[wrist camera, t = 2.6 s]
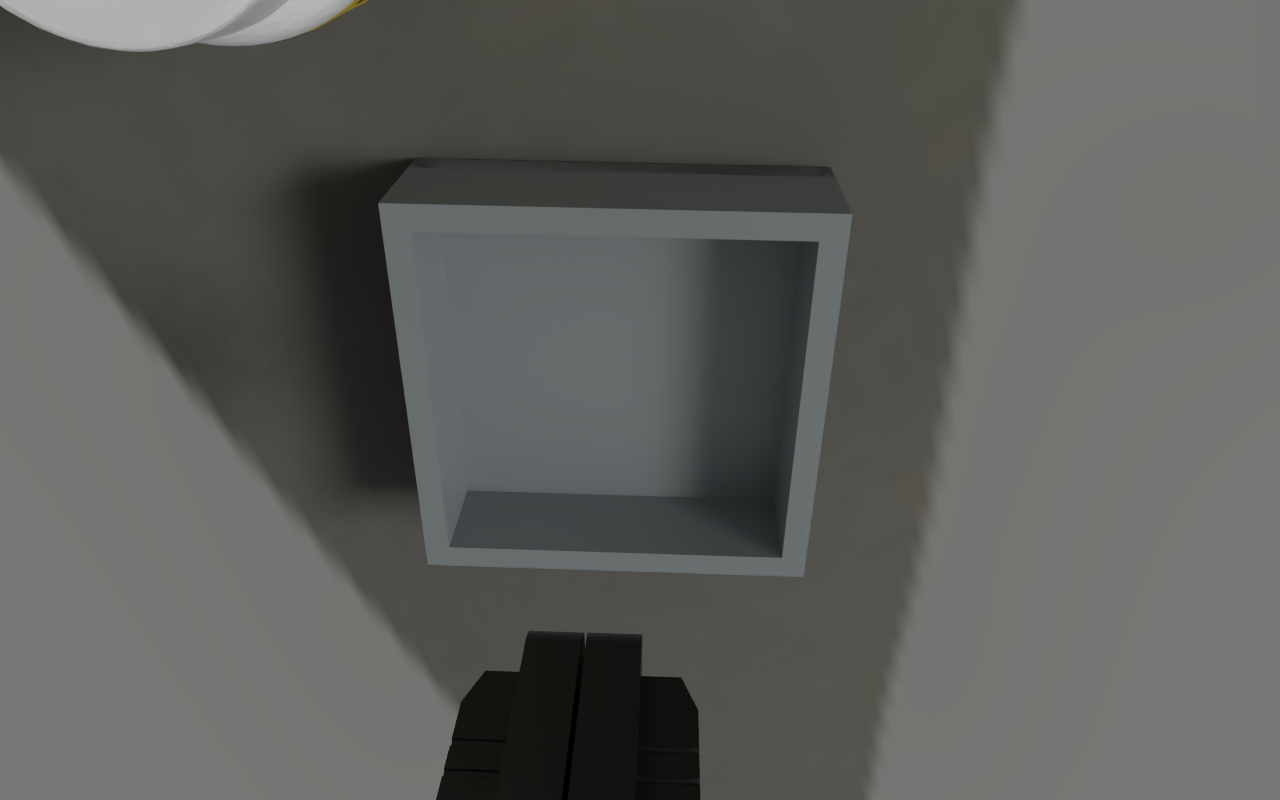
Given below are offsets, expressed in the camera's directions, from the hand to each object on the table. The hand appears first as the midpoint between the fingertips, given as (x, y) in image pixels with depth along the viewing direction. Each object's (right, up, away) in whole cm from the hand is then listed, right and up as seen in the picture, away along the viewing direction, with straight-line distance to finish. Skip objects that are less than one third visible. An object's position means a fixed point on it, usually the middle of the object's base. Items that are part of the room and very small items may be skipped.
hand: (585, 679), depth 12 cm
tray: (0, +5, +8) cm, 9 cm away
